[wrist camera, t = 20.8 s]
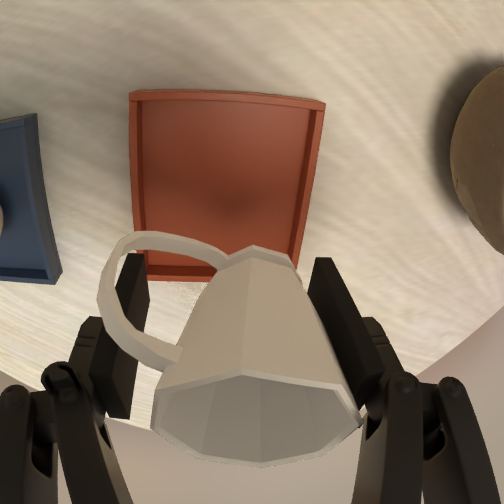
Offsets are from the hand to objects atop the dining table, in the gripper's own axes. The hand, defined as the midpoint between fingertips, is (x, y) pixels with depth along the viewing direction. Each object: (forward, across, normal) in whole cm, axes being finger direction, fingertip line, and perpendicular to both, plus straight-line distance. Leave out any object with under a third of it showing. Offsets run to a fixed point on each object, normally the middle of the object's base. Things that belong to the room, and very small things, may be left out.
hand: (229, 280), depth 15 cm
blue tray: (+12, -22, -1) cm, 25 cm away
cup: (+1, 0, 0) cm, 1 cm away
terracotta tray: (+12, 0, 0) cm, 12 cm away
